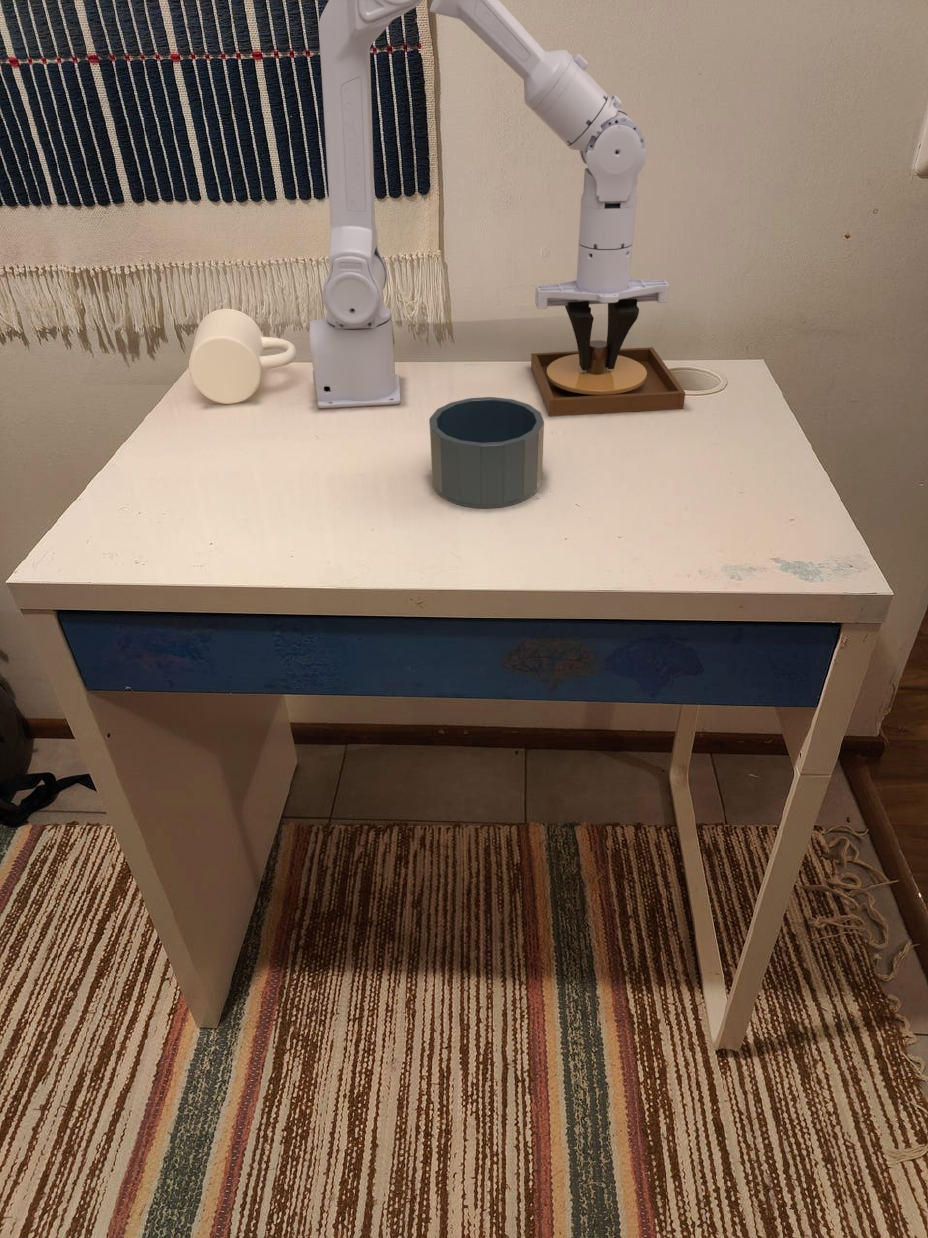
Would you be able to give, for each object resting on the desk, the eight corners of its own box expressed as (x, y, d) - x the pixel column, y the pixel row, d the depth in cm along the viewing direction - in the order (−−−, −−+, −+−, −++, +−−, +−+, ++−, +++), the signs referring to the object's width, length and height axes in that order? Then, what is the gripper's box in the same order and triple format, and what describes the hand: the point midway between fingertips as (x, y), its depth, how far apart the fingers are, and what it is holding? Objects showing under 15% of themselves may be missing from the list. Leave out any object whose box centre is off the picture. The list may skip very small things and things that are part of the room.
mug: (196, 407, 100) (181, 339, 95) (203, 374, 108) (190, 310, 103) (300, 398, 101) (291, 331, 96) (300, 367, 109) (291, 303, 104)
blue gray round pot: (435, 511, 80) (432, 448, 76) (430, 459, 88) (427, 399, 84) (548, 504, 80) (551, 442, 76) (532, 453, 89) (534, 394, 85)
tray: (549, 416, 96) (549, 400, 95) (530, 368, 107) (531, 353, 106) (683, 408, 96) (685, 392, 95) (651, 361, 108) (653, 346, 107)
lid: (555, 402, 96) (556, 365, 94) (539, 363, 105) (540, 328, 103) (657, 397, 97) (661, 359, 94) (632, 358, 106) (636, 324, 103)
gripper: (543, 256, 88) (539, 383, 97) (682, 249, 89) (667, 376, 97) (533, 238, 94) (530, 359, 102) (664, 232, 95) (651, 353, 103)
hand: (596, 366), depth 100 cm, fingers closed on lid, 2 cm apart
